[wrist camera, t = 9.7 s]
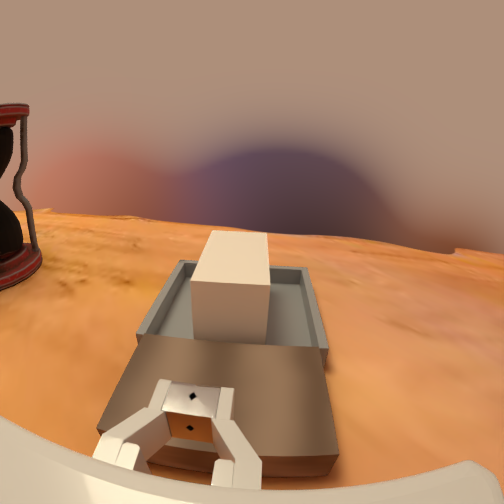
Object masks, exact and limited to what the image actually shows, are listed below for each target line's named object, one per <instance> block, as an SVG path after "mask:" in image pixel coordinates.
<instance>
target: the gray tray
mask: <svg viewBox="0 0 504 504" xmlns="http://www.w3.org/2000/svg"><path fill="white" fill-rule="evenodd" d="M197 264H198V261H192V260H180V261H179V262H178V264H177V265H176V267H175V269H174V270H173V272H172V274H171V275H170V277H169V278H168V280H167V282H166V283H165V285H164V287H163V288H162V290H161V292H160V293H159V295H158V297H157V298H156V300H155V302H154V303H153V305H152V307H151V308H150V310H149V312H148V313H147V315H146V317H145V318H144V320H143V322H142V324H141V325H140V327H139V329H138V331H137V332H136V337H137V342H138V344H139V342H140V340H141V338H142V336H143V335H144V333H146V334H154V335H161V336H169V337H177V338H186V339H194V336H193V321H192V305H191V287H190V280H191V278H192V275H193V273H194V271H195V268H196V266H197ZM269 271H270V297H269V308H268V319H267V330H266V340H265V345H277V346H308V347H319V350H320V355H321V360H322V365H323V369H324V366H325V362H326V358H327V354H328V350H329V347H328V343H327V339H326V335H325V331H324V327H323V323H322V320H321V316H320V312H319V308H318V305H317V301H316V297H315V294H314V290H313V287H312V283H311V280H310V276H309V272H308V269H307V268H306V267H289V266H272V265H269Z"/></svg>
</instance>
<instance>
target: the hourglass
mask: <svg viewBox="0 0 504 504" xmlns="http://www.w3.org/2000/svg"><path fill="white" fill-rule="evenodd" d="M27 116H29V105H28V104H24V103H5V104H0V178H1V176H2V175H3V173H4V171H5V169H6V168H7V166H8V164H9V162H10V159H11V156H12V153H13V131H12V130H11V129H10V128H11V127H13V126H14V125H15V124H16V121H17V120H21V121H20V138H21V139H20V140H21V142H20V145H21V163H20V167H19V170H18V172H17V173H16V175H15V176H14V182H13V191H14V193H15V196H16V198H17V199H18V200H19V201H20V202H21V203H22V204H23V206H24V208H25V210H26V216H27V223H28V229H29V235H30V240H31V243H23V234H22V229H21V226H20V223H19V220H18V219H17V217H16V216H15V214H14V213H13V211H12V210H10V208H8V206H6V205H5V204H4V203H3V202H2V201H0V290H1V289H4V288H7V287H9V286H12V285H14V284H16V283H18V282H20V281H22V280H24V279H26V278H27V277H28V276H30V275H31V274H32V273H34V272H35V271H36V270H37V268H38V267H39V266H40V264H41V262H42V255H41V250H40V249H39V247H38V244H37V238H36V232H35V226H34V219H33V212H32V207H31V205H30V203H29V201H28V200H27V199H26V198H25V197H24V196H23V193H22V190H21V176H22V174H23V173H24V171H25V169H26V166H27V162H28V154H27Z"/></svg>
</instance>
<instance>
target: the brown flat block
mask: <svg viewBox="0 0 504 504" xmlns="http://www.w3.org/2000/svg"><path fill="white" fill-rule="evenodd" d="M160 379H165V380H170V381H177V382H183V383H189V384H195V385H206V386H216V387H226V388H234V389H235V393H234V416H233V420H234V421H235V423H236V424H237V426H238V427H239V429H240V430H241V432H242V433H243V435H244V436H245V438H246V439H247V441H248V442H249V444H250V445H251V447H252V448H253V450H254V451H255V452H256V454H257V455H258V457H259V458H260V460H261V461H262V477H309V476H326V475H328V473H329V471H330V469H331V468H332V466H333V464H334V463H335V461H336V459H337V457H338V456H339V450H338V444H337V438H336V432H335V427H334V421H333V416H332V410H331V405H330V400H329V394H328V389H327V384H326V379H325V374H324V369H323V365H322V360H321V355H320V350H319V347H308V346H277V345H258V344H242V343H228V342H217V341H206V340H196V339H186V338H177V337H169V336H161V335H154V334H146V333H144V335H143V336H142V338H141V340H140V342H139V344H138V346H137V348H136V350H135V351H134V353H133V355H132V357H131V359H130V361H129V363H128V365H127V367H126V369H125V371H124V373H123V375H122V377H121V379H120V381H119V382H118V384H117V386H116V388H115V390H114V392H113V394H112V397H111V399H110V401H109V403H108V405H107V407H106V409H105V411H104V413H103V415H102V417H101V419H100V421H99V423H98V425H97V428H96V429H97V430H98V432H99V434H100V436H102V434H103V433H105V432H107V431H108V430H110V429H111V428H113V427H115V426H116V425H118V424H119V423H121V422H122V421H124V420H126V419H127V418H129V417H130V416H132V415H133V414H135V413H136V412H138V411H139V410H141V409H142V408H144V407H146V408H148V406H149V403H150V401H151V398H152V396H153V393H154V391H155V388H156V385H157V383H158V381H159V380H160ZM218 459H220V457H219V455H218V453H217V451H216V449H215V447H214V445H213V443H207V442H201V441H195V440H188V439H181V438H174V437H171V439H170V440H169V441H168V442H167V443H166V444H165V445H164V446H162V447H161V448H160V449H159V450H158V451H157V452H156V453H155V454H154V455H152V456H151V457H150V458H149V459H148V460H147V461H146V462H150V463H154V464H159V465H164V466H169V467H175V468H180V469H186V470H193V471H200V472H208V473H213V470H214V464H215V461H216V460H218Z"/></svg>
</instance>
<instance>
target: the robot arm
mask: <svg viewBox="0 0 504 504" xmlns="http://www.w3.org/2000/svg"><path fill="white" fill-rule="evenodd" d="M234 393H235V389H234V388H226V387H216V386H206V385H195V384H189V383H183V382H177V381H170V380H165V379H160V380H159V381H158V383H157V385H156V388H155V391H154V393H153V396H152V398H151V401H150V403H149V406H148V408H146V407H144V408H142V409H141V410H139V411H138V412H136V413H135V414H133V415H132V416H130V417H129V418H127V419H126V420H124V421H122V422H121V423H119V424H118V425H116V426H115V427H113V428H111V429H110V430H108V431H107V432H105V433H103V434H102V436H101V438H100V441H99V443H98V445H97V447H96V449H95V452H94V454H93V456H92V457H89V456H86V455H84V454H81V453H78V452H76V451H73V450H70V449H68V448H66V447H63V446H61V445H58V444H56V443H54V442H51V441H49V440H47V439H45V438H43V437H41V436H38V435H36V434H34V433H32V432H30V431H28V430H26V429H24V428H22V427H20V426H18V425H17V424H15V423H13V422H11V421H9V420H7V419H6V418H4V417H2V416H1V415H0V504H504V496H503V492H502V489H501V487H500V484H499V482H498V479H497V478H496V476H495V475H494V474H493V473H492V472H491V471H489V470H488V469H486V468H485V467H483V466H481V465H480V464H478V463H476V462H474V461H472V460H465V461H461V462H458V463H455V464H452V465H449V466H446V467H443V468H439V469H436V470H432V471H428V472H425V473H421V474H417V475H412V476H408V477H403V478H399V479H394V480H389V481H383V482H377V483H371V484H364V485H357V486H348V487H339V488H327V489H310V490H261V477H262V461H261V460H260V458H259V457H258V455H257V454H256V452H255V451H254V450H253V448H252V447H251V445H250V444H249V442H248V441H247V439H246V438H245V436H244V435H243V433H242V432H241V430H240V429H239V427H238V426H237V424H236V423H235V421H234V420H233V416H234ZM171 437H174V438H181V439H188V440H195V441H201V442H207V443H213V445H214V447H215V449H216V451H217V453H218V455H219V457H220V459H218V460H216V461H215V464H214V470H213V476H212V482H211V485H204V484H197V483H191V482H185V481H179V480H174V479H169V478H164V477H159V476H155V475H152V473H151V471H150V469H149V467H148V465H147V463H146V461H147V460H148V459H149V458H150V457H151V456H152V455H154V454H155V453H156V452H157V451H158V450H159V449H160V448H161V447H162V446H164V445H165V444H166V443H167V442H168V441H169V440H170V439H171Z"/></svg>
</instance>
